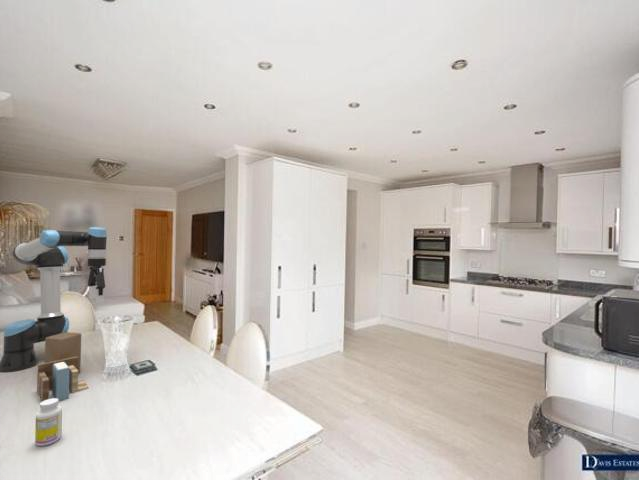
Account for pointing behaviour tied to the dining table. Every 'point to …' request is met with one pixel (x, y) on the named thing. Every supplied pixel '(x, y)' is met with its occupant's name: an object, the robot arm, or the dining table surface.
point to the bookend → (75, 380)
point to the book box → (60, 381)
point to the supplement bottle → (48, 422)
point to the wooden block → (63, 347)
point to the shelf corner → (50, 376)
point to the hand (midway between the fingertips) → (95, 300)
